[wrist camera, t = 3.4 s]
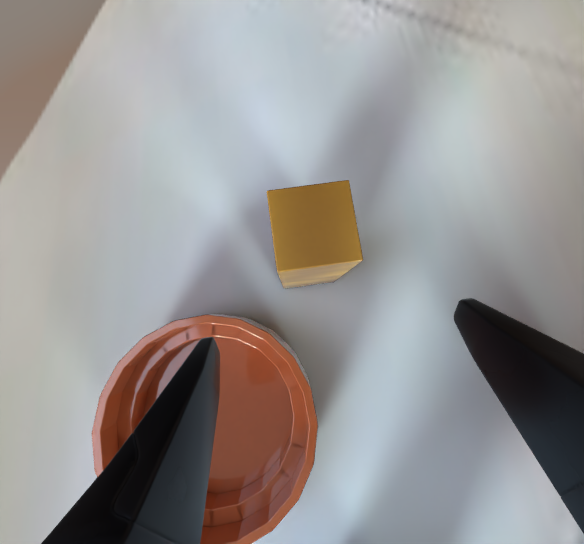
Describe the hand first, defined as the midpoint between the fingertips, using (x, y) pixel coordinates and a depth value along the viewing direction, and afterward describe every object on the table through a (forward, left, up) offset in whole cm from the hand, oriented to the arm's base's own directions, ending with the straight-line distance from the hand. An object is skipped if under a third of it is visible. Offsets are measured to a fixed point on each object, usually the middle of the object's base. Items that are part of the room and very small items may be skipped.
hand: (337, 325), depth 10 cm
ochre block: (+1, -5, -14) cm, 15 cm away
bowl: (+7, +8, -14) cm, 17 cm away
